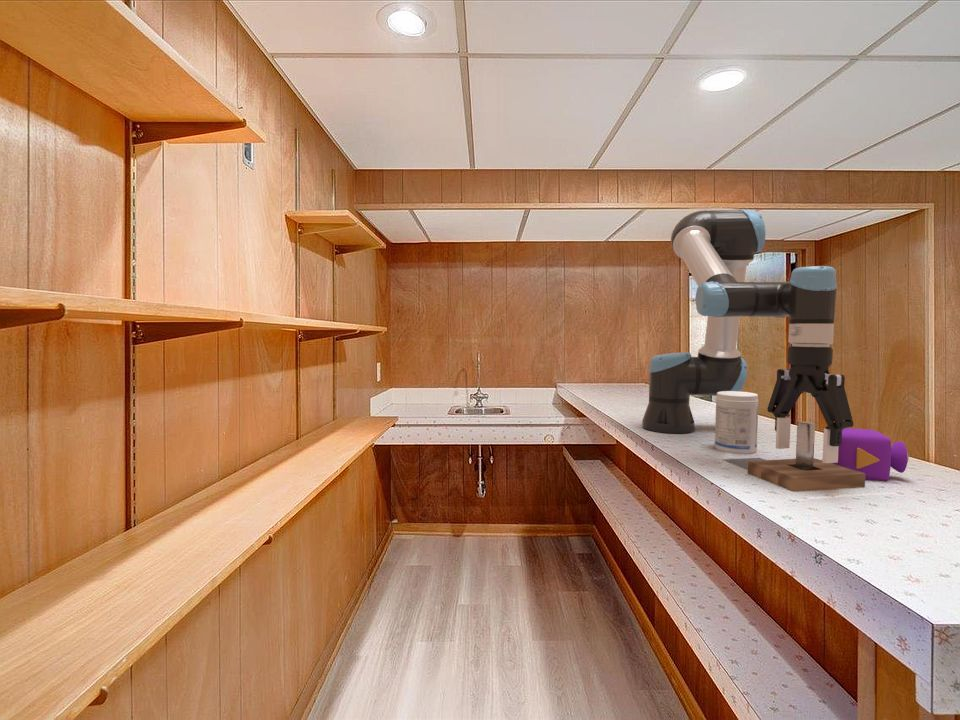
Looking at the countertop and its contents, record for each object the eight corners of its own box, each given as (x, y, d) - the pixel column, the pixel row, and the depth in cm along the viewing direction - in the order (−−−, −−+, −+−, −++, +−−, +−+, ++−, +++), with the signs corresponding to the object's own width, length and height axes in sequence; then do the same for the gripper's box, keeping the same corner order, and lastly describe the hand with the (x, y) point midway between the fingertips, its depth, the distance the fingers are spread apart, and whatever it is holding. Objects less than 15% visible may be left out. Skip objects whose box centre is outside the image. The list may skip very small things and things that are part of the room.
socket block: (747, 475, 106) (748, 461, 106) (812, 471, 109) (813, 457, 109) (793, 493, 94) (794, 477, 94) (864, 488, 98) (865, 473, 97)
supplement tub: (728, 445, 134) (730, 389, 133) (764, 452, 126) (767, 394, 125) (706, 449, 129) (708, 392, 128) (742, 457, 121) (744, 396, 120)
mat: (721, 461, 117) (721, 459, 117) (759, 459, 119) (759, 457, 119) (759, 476, 106) (759, 474, 106) (800, 473, 108) (800, 471, 108)
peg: (791, 479, 103) (793, 421, 102) (803, 479, 104) (806, 421, 103) (803, 484, 100) (806, 424, 99) (816, 483, 101) (818, 424, 100)
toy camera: (919, 486, 100) (922, 436, 99) (841, 481, 102) (844, 432, 102) (887, 471, 110) (889, 425, 110) (817, 467, 113) (819, 423, 112)
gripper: (751, 343, 111) (747, 442, 112) (847, 347, 88) (841, 471, 89) (780, 343, 112) (776, 441, 114) (883, 347, 90) (876, 469, 91)
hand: (804, 454), depth 102 cm, fingers open, 11 cm apart
